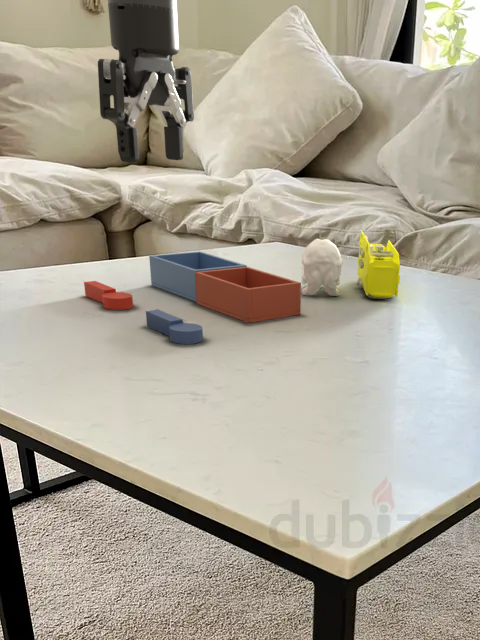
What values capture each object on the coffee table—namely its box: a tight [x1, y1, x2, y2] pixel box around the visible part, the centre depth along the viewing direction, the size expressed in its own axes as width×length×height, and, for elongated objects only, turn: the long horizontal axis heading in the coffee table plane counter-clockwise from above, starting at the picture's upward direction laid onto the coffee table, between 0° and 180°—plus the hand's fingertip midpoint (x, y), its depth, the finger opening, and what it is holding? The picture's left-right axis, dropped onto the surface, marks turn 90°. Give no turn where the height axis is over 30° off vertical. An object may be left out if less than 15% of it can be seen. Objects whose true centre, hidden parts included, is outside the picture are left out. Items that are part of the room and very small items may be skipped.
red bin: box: [195, 266, 302, 324], centre depth 112 cm, size 9×13×4 cm
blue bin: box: [148, 250, 248, 303], centre depth 121 cm, size 9×13×4 cm
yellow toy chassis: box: [357, 230, 401, 300], centre depth 128 cm, size 16×6×8 cm, turn 6°
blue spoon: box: [145, 309, 204, 345], centre depth 99 cm, size 4×10×2 cm, turn 45°
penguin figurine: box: [301, 238, 344, 297], centre depth 125 cm, size 6×8×12 cm
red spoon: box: [83, 280, 134, 311], centre depth 111 cm, size 4×10×2 cm, turn 45°
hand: (152, 160), depth 95 cm, fingers open, 8 cm apart
